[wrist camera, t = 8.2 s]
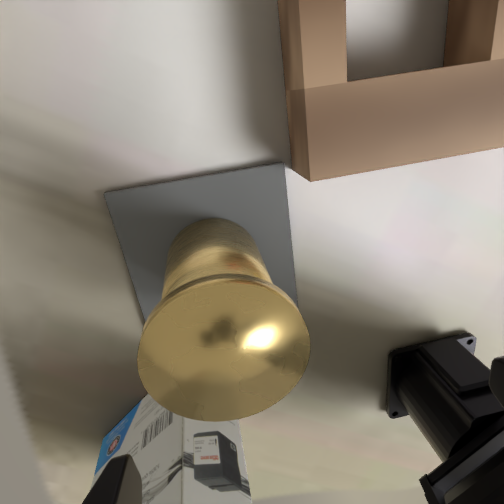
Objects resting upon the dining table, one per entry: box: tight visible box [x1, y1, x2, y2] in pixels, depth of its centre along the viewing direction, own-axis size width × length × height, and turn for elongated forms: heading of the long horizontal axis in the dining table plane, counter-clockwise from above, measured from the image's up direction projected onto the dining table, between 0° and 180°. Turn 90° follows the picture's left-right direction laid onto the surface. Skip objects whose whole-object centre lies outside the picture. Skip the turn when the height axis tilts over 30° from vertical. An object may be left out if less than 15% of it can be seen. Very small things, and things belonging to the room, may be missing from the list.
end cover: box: [137, 218, 310, 422], centre depth 15 cm, size 6×6×8 cm
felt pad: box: [104, 162, 298, 322], centre depth 19 cm, size 9×9×1 cm
